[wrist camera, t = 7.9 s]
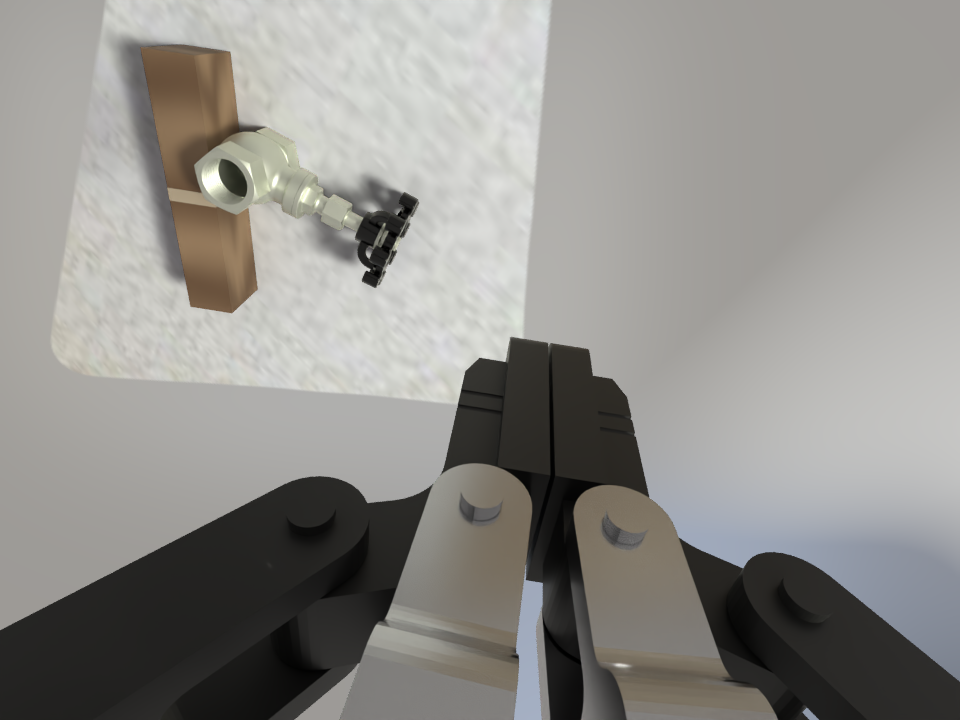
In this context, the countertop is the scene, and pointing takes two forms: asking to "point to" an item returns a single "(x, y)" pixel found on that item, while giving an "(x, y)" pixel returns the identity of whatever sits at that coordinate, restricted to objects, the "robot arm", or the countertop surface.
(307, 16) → the countertop surface
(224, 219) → the bar
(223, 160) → the valve
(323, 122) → the countertop surface
